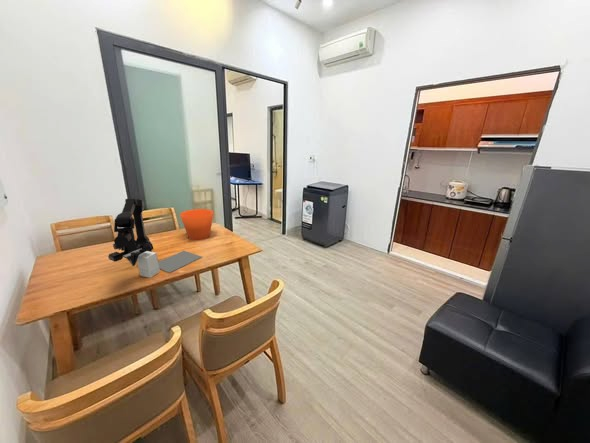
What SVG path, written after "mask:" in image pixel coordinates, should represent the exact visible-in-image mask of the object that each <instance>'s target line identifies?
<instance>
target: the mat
mask: <svg viewBox="0 0 590 443" xmlns="http://www.w3.org/2000/svg"><path fill="white" fill-rule="evenodd" d="M202 258H203V256H201V255H198V254H195V253H192V252H190V251H186V250H182V251H180V252H178V253H175V254H173V255H171V256H167V257H166V258H164V259H161V260H158V264H159V270H160V271H163V272H164V273H168V274H171V273H173V272H176V271H178V270H180V269H182V268H183V267H186V266H187V265H190V264H193V262H195V261H198V260H200V259H202Z"/></svg>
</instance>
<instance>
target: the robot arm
mask: <svg viewBox="0 0 590 443" xmlns="http://www.w3.org/2000/svg"><path fill="white" fill-rule="evenodd" d="M124 203H125V204H124V206H123V208H122V212H120V213H119V214H117V215H116V217H115V219H114V224H113V225H114V227H113V228H114V229H113V232H114V233H117V235H116V237H114V240H113V241H114V242H113V244H112V247H113V249H114V250H118V251H115V252H112V253H109V254H108V256H107V257H108V260H110V261H112V262H114V263H115V262H119V261H121V260H122V259H123V258H124V259H127V261H128V262H129V264H131V266H132V267H135V266H136V264H137V258H138V256H139V255H140V254H142V253H144V252H146V251H149V252H153V250H154V246H153V245H154V244H153V243H152V242H151V241H150V238H149V237H148V236H147V234H146V230H145V229H146V228H145V224H144V219H143V212H144V209H145V205H146V204H145V202H144V201H143V199H139V198H135V197H133V198H132V197H131V198H129V197H128V198H125V199H124ZM134 229H135V233H136V237H135V234H134ZM135 238H136V239H135ZM120 250H121V252H119V251H120Z"/></svg>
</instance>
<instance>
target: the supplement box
mask: <svg viewBox="0 0 590 443" xmlns="http://www.w3.org/2000/svg"><path fill="white" fill-rule="evenodd" d="M157 254H158V253H157V252H154V251H152V252H149V251H146V252H144V253H142V254H140V255H139V256H138V258H137V261H136V264H137V267H138V271H139V272H138V273H139V276H140V277H145V278H149V279H151V278H153V277H154V276H155V275H157V274H159V273H160V271H161V270H160V269H159V264H158V261H159V260H158V255H157Z"/></svg>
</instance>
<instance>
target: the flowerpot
mask: <svg viewBox="0 0 590 443" xmlns="http://www.w3.org/2000/svg"><path fill="white" fill-rule="evenodd" d="M214 215H215V214H214V211H213V210H212V209H206V208H194V209H188V210H185V211H182V212H180V213H179V216H180V219H181V221H182V224H183V226H184V230H185V231H186V234H187V237H188V239H189V240H192V241H201V240H207V239H209V238H210V236H211V231H212V226H213V225H212V224H213V221H214V220H213V219H214Z"/></svg>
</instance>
